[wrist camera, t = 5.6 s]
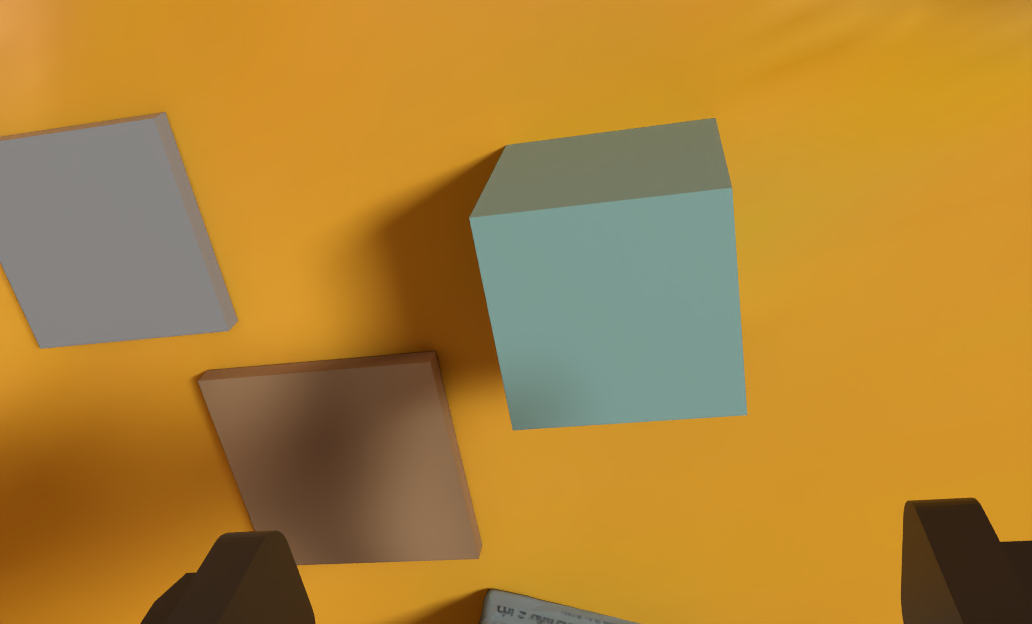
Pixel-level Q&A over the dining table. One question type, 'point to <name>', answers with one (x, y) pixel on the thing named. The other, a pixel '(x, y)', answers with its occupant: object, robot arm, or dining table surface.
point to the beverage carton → (536, 611)
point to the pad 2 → (347, 457)
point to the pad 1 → (107, 235)
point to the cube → (613, 277)
